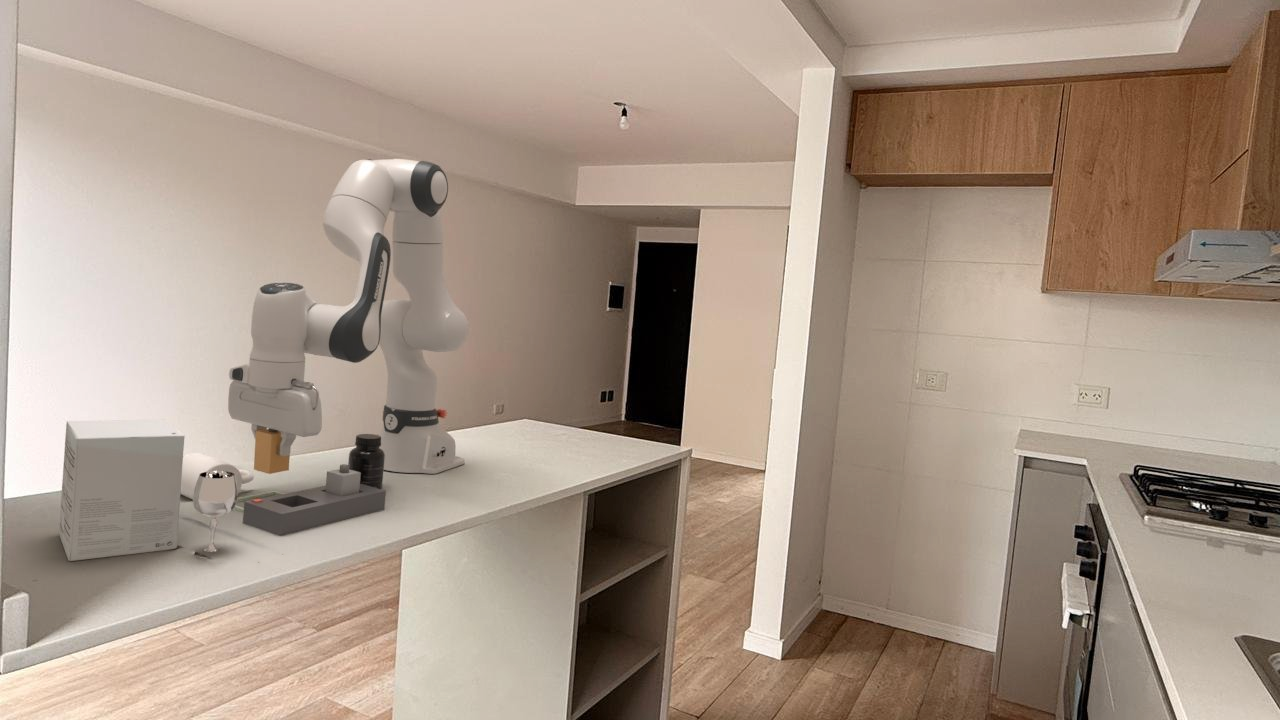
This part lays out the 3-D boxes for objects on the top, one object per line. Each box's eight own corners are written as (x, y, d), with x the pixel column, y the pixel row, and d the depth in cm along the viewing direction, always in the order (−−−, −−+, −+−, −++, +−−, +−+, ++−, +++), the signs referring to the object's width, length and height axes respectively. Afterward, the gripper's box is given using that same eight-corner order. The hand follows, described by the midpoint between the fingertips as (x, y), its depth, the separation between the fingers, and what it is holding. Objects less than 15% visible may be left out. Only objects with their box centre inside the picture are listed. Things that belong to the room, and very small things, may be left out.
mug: (195, 511, 131) (198, 466, 131) (167, 498, 137) (170, 454, 136) (262, 500, 141) (265, 459, 141) (233, 488, 147) (236, 448, 146)
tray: (274, 501, 142) (275, 490, 142) (308, 512, 138) (309, 501, 138) (217, 512, 132) (218, 501, 132) (253, 524, 128) (254, 513, 128)
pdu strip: (348, 506, 144) (350, 479, 143) (383, 517, 140) (386, 489, 139) (242, 531, 124) (244, 500, 124) (279, 544, 120) (282, 512, 120)
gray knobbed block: (341, 505, 139) (345, 461, 138) (357, 510, 137) (361, 466, 136) (323, 509, 135) (327, 464, 135) (339, 514, 133) (343, 469, 133)
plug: (273, 465, 138) (276, 421, 137) (288, 470, 136) (291, 425, 135) (253, 469, 134) (256, 423, 133) (269, 474, 132) (271, 427, 131)
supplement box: (159, 524, 123) (167, 418, 122) (178, 549, 113) (186, 434, 112) (57, 534, 114) (64, 419, 113) (67, 562, 104) (75, 437, 103)
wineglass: (204, 544, 116) (209, 468, 116) (240, 549, 116) (246, 472, 115) (180, 557, 111) (185, 476, 110) (218, 562, 110) (224, 481, 110)
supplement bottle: (339, 492, 153) (344, 433, 152) (371, 488, 158) (376, 431, 157) (355, 500, 148) (360, 440, 147) (387, 497, 153) (393, 438, 152)
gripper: (333, 383, 132) (328, 460, 133) (254, 366, 140) (250, 439, 142) (302, 385, 126) (298, 466, 127) (222, 368, 135) (219, 444, 136)
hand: (272, 452), depth 135 cm, fingers closed on plug, 4 cm apart
